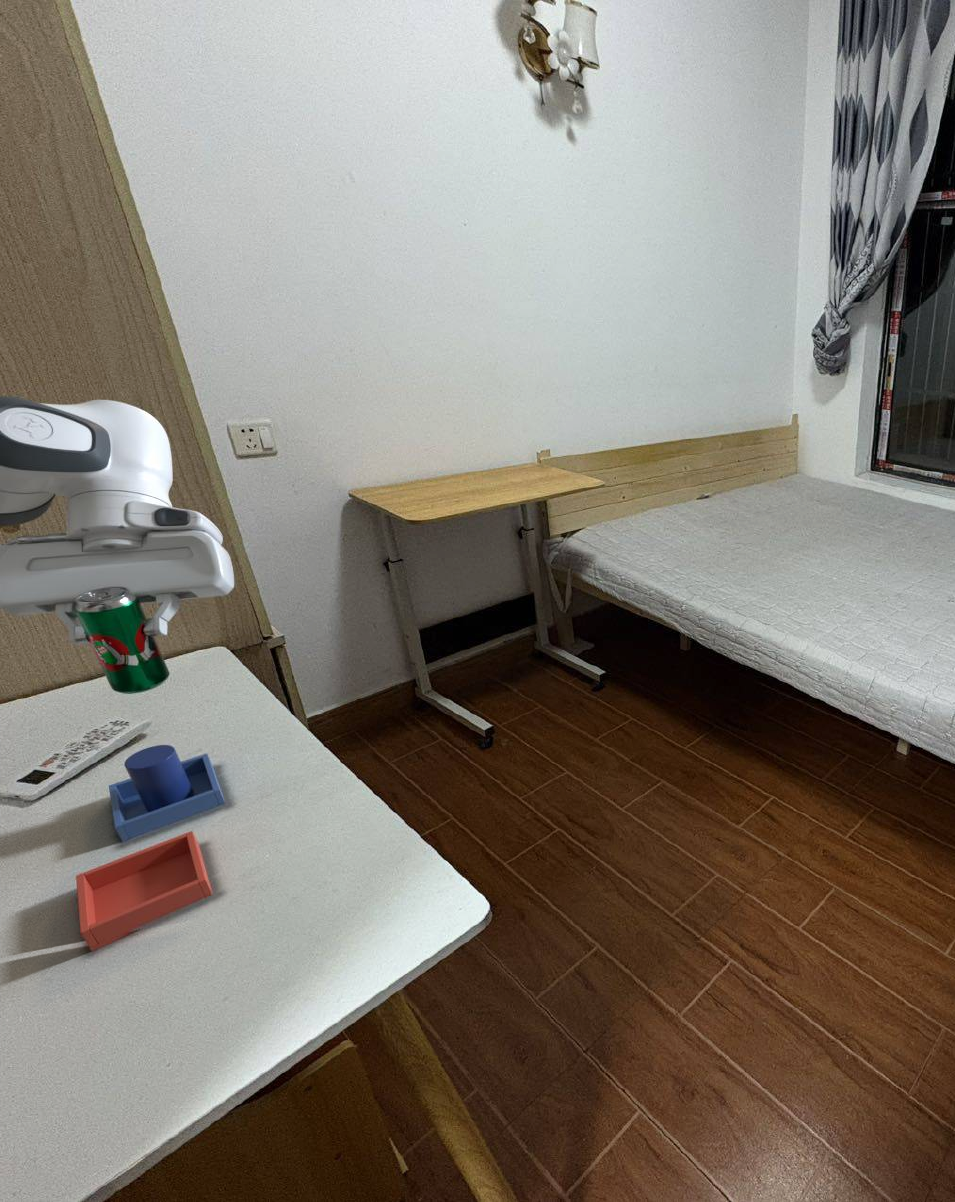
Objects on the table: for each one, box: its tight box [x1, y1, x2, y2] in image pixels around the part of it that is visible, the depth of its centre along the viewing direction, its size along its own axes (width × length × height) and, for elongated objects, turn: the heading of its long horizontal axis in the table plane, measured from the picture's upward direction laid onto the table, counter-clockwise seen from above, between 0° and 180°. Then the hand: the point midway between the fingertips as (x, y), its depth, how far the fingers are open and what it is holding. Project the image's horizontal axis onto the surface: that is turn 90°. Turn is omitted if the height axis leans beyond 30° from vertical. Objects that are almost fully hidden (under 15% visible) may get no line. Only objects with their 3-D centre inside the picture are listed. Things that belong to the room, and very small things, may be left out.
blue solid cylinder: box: [124, 744, 194, 812], centre depth 79 cm, size 4×4×7 cm
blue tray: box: [108, 752, 226, 843], centre depth 80 cm, size 9×9×3 cm
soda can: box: [74, 587, 170, 695], centre depth 75 cm, size 5×5×12 cm
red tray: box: [75, 830, 213, 952], centre depth 68 cm, size 9×9×3 cm
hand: (119, 639), depth 74 cm, fingers closed on soda can, 5 cm apart
